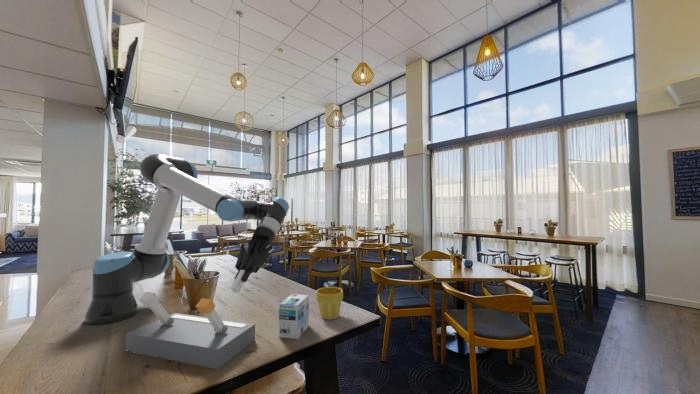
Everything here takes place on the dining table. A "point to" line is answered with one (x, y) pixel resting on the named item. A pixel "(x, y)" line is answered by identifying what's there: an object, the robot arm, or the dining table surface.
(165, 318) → the breaker on
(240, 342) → the box
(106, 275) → the robot arm
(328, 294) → the plant pot
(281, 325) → the light bulb box
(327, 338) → the dining table surface
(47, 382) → the dining table surface
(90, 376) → the dining table surface
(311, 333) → the dining table surface
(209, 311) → the breaker
